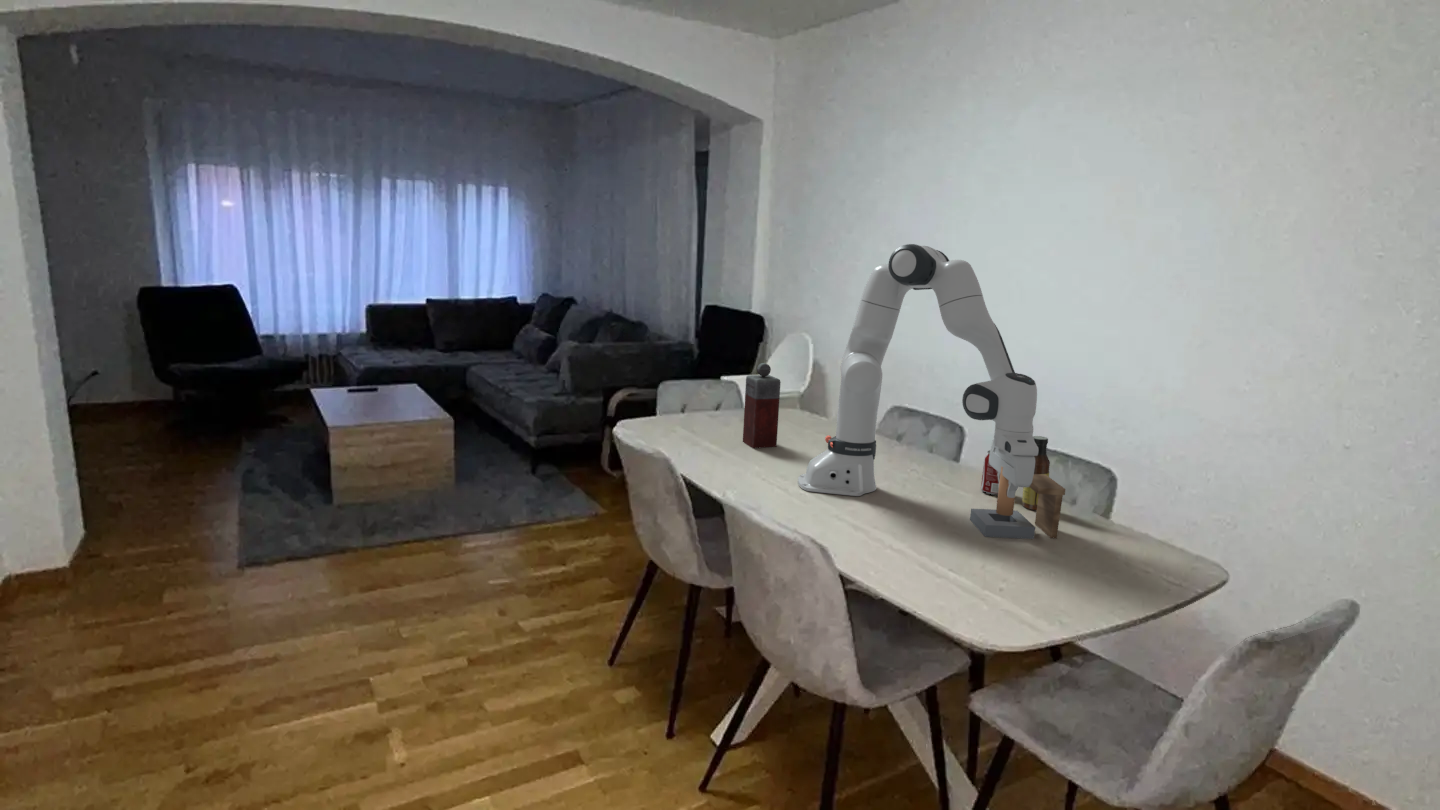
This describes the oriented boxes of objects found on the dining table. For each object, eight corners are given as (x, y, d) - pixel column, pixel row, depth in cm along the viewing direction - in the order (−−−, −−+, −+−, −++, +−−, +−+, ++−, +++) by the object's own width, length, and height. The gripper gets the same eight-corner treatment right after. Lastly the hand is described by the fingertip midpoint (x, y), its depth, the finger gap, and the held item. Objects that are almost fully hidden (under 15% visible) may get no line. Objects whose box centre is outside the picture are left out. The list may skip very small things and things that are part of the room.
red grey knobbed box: (763, 438, 277) (767, 360, 272) (776, 447, 267) (782, 365, 261) (739, 440, 274) (743, 360, 268) (752, 448, 264) (757, 365, 258)
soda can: (1006, 497, 224) (1011, 456, 222) (981, 495, 225) (986, 454, 223) (1003, 490, 231) (1008, 450, 228) (979, 488, 232) (983, 448, 229)
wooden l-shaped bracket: (1031, 538, 193) (1038, 488, 190) (1014, 521, 204) (1020, 473, 202) (1058, 540, 193) (1065, 489, 190) (1039, 522, 205) (1045, 474, 202)
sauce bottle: (1044, 506, 218) (1054, 436, 214) (1046, 513, 212) (1056, 441, 208) (1019, 502, 220) (1028, 433, 216) (1020, 509, 214) (1029, 438, 210)
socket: (984, 536, 193) (986, 525, 192) (969, 519, 204) (971, 508, 204) (1033, 538, 193) (1035, 527, 192) (1015, 521, 205) (1017, 510, 204)
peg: (999, 515, 196) (1004, 469, 193) (993, 510, 200) (998, 464, 197) (1015, 516, 196) (1020, 469, 193) (1009, 510, 200) (1014, 464, 197)
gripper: (985, 429, 204) (980, 480, 207) (1014, 450, 184) (1008, 506, 187) (1010, 430, 204) (1004, 481, 207) (1041, 451, 184) (1034, 507, 187)
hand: (1006, 493), depth 197 cm, fingers closed on peg, 4 cm apart
